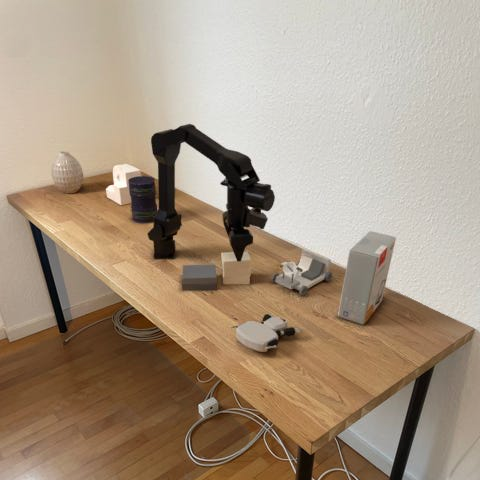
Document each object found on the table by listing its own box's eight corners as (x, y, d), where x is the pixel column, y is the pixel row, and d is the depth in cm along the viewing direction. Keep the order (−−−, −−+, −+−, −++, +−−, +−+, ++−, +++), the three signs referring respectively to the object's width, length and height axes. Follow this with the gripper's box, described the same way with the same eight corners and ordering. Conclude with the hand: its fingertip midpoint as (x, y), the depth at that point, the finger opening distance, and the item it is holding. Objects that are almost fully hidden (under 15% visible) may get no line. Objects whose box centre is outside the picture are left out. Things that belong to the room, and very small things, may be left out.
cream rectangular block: (223, 269, 140) (223, 261, 139) (221, 260, 145) (221, 252, 144) (250, 268, 141) (251, 260, 140) (247, 259, 146) (247, 251, 145)
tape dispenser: (143, 199, 203) (140, 170, 196) (121, 205, 197) (117, 174, 190) (124, 190, 213) (121, 161, 206) (103, 194, 207) (98, 165, 200)
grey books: (182, 290, 140) (181, 278, 138) (183, 276, 147) (182, 264, 145) (216, 290, 141) (216, 278, 138) (216, 276, 148) (216, 264, 146)
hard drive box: (364, 326, 126) (377, 257, 115) (336, 317, 130) (347, 250, 119) (382, 300, 137) (396, 236, 126) (357, 293, 141) (368, 229, 130)
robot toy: (266, 321, 129) (226, 340, 119) (268, 306, 126) (227, 325, 117) (302, 341, 122) (262, 363, 112) (304, 325, 119) (264, 347, 110)
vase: (50, 190, 210) (42, 151, 201) (77, 184, 218) (70, 146, 209) (63, 198, 203) (55, 157, 194) (91, 191, 210) (85, 152, 201)
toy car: (298, 270, 131) (266, 256, 138) (295, 300, 136) (264, 286, 143) (335, 250, 142) (304, 238, 148) (331, 279, 147) (302, 267, 154)
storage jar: (161, 215, 189) (158, 177, 181) (153, 224, 181) (150, 185, 173) (137, 212, 190) (133, 175, 182) (128, 222, 182) (123, 183, 174)
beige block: (222, 284, 143) (222, 269, 140) (222, 274, 149) (222, 259, 146) (250, 284, 144) (251, 269, 141) (249, 274, 149) (249, 259, 146)
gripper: (273, 214, 126) (269, 267, 135) (259, 191, 142) (257, 239, 150) (231, 215, 125) (230, 269, 133) (222, 192, 140) (222, 241, 149)
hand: (236, 254), depth 141 cm, fingers open, 9 cm apart
